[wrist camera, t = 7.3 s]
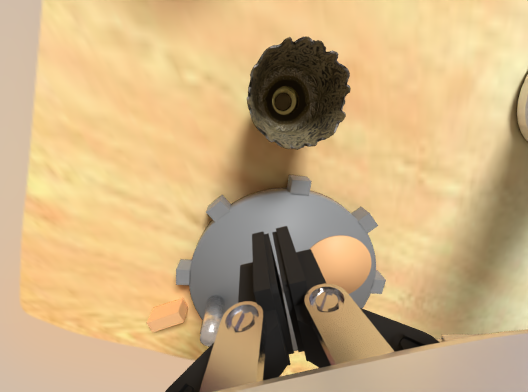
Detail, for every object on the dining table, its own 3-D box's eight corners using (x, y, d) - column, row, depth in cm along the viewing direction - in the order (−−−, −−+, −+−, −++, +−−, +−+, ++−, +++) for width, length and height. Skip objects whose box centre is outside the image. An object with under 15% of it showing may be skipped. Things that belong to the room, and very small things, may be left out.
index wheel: (359, 154, 27) (397, 167, 20) (384, 316, 35) (418, 364, 28) (152, 215, 27) (123, 247, 21) (222, 363, 35) (217, 421, 28)
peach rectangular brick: (182, 298, 31) (178, 312, 29) (188, 307, 32) (183, 322, 30) (153, 307, 32) (146, 322, 29) (159, 317, 32) (152, 332, 30)
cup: (308, 145, 27) (335, 157, 19) (240, 132, 26) (239, 140, 18) (327, 69, 24) (365, 50, 17) (253, 52, 23) (258, 23, 16)
